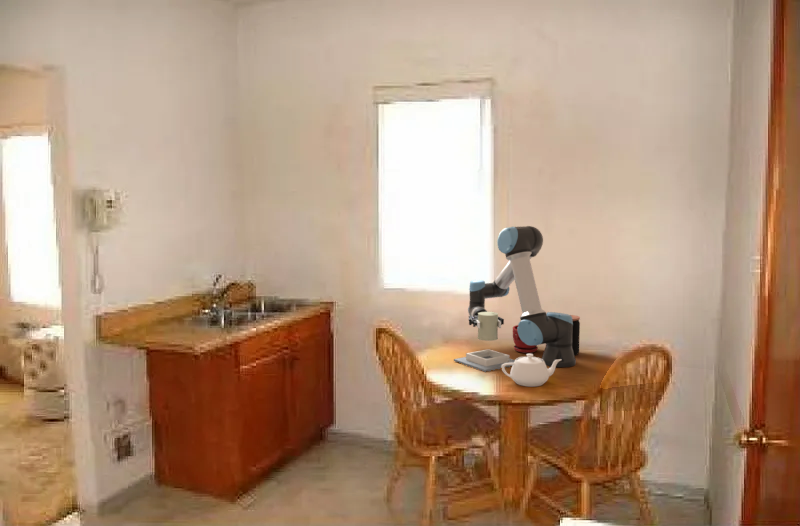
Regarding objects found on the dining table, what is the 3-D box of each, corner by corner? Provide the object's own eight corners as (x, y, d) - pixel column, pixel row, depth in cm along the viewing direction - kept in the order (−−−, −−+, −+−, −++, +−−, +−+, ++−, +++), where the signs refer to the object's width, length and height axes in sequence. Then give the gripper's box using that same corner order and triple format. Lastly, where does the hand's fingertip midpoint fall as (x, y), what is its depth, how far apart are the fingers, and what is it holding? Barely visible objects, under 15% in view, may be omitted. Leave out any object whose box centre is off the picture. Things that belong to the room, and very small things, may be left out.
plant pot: (506, 350, 325) (507, 326, 324) (527, 346, 332) (527, 323, 330) (524, 355, 314) (524, 331, 313) (545, 352, 320) (545, 328, 319)
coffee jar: (583, 355, 314) (584, 318, 312) (563, 356, 311) (564, 319, 309) (571, 350, 324) (572, 314, 322) (552, 351, 321) (552, 315, 319)
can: (497, 341, 295) (497, 314, 293) (476, 340, 297) (476, 314, 295) (498, 336, 304) (498, 311, 302) (478, 335, 306) (478, 310, 304)
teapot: (505, 389, 262) (505, 359, 260) (497, 378, 277) (497, 349, 275) (567, 388, 263) (567, 358, 261) (555, 376, 278) (556, 348, 277)
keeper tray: (522, 364, 298) (522, 355, 298) (485, 372, 286) (485, 363, 286) (489, 354, 316) (489, 346, 316) (453, 361, 304) (453, 352, 304)
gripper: (502, 322, 318) (513, 333, 296) (458, 323, 317) (465, 334, 295) (502, 307, 317) (513, 316, 295) (458, 308, 316) (466, 317, 294)
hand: (489, 325), depth 295 cm, fingers closed on can, 9 cm apart
